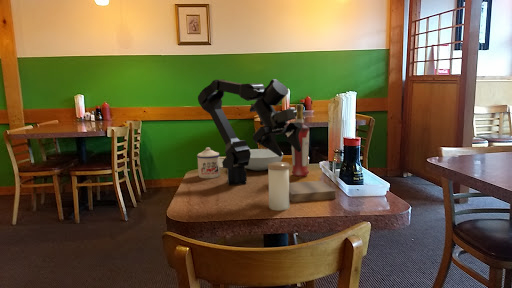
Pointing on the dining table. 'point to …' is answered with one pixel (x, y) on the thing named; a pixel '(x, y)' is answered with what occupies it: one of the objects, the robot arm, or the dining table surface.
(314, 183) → the beige rectangular box
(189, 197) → the dining table surface
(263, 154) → the serving bowl
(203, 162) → the teacup with lid
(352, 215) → the dining table surface
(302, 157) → the liquor
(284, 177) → the cream jar
